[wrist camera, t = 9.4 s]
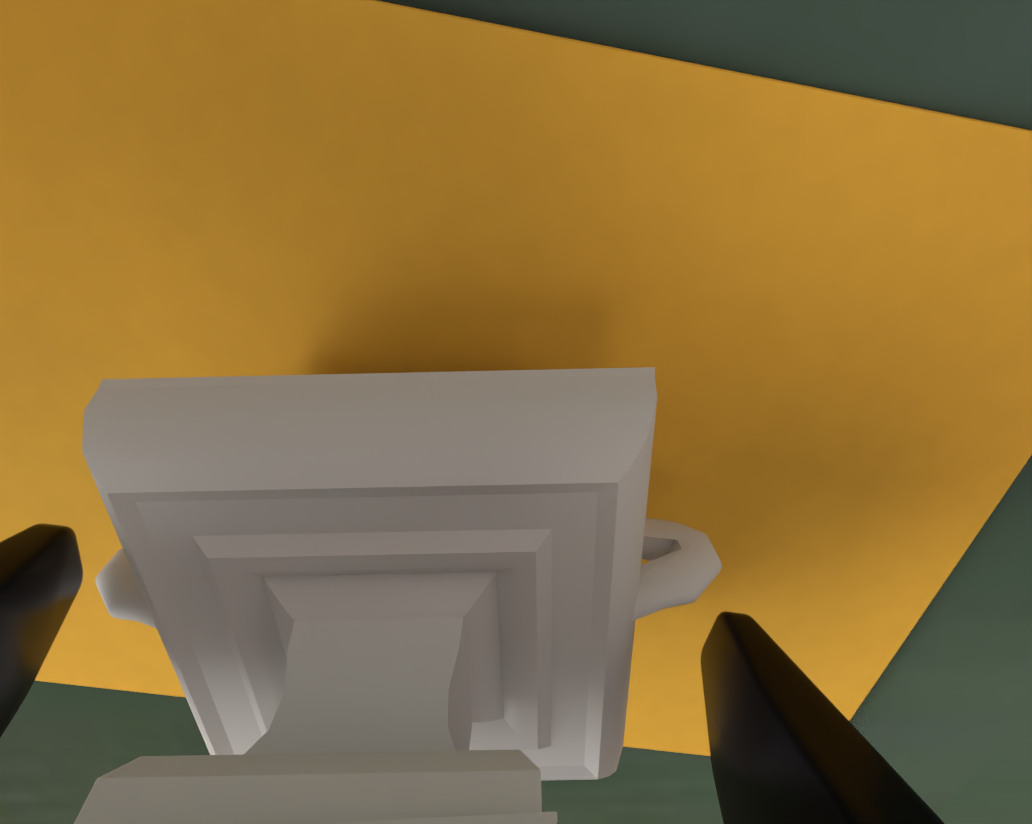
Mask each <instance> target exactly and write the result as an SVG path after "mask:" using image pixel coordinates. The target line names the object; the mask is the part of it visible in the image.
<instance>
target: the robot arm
mask: <svg viewBox="0 0 1032 824" xmlns="http://www.w3.org/2000/svg"><path fill="white" fill-rule="evenodd" d="M82 580H83V567H82V562H81V557H80V552H79V547H78V543H77V538H76V534H75V532H74V530H73V529H72V528H70V527H68V526H61V525H53V524H46V523H40V524H36V525H33V526H31V527H29V528H27V529H25V530H23V531H21V532H19V533H17V534H15V535H13V536H11V537H9V538H7V539H5V540H3V541H1V542H0V737H1V736H2V734H3V732H4V731H5V729H6V728H7V726H8V725H9V723H10V721H11V720H12V718H13V717H14V715H15V713H16V712H17V710H18V709H19V707H20V705H21V704H22V702H23V700H24V699H25V697H26V695H27V694H28V692H29V690H30V688H31V686H32V684H33V682H34V680H35V678H36V677H37V675H38V673H39V671H40V669H41V666H42V664H43V662H44V660H45V658H46V656H47V654H48V652H49V650H50V648H51V646H52V644H53V642H54V640H55V638H56V636H57V634H58V632H59V630H60V628H61V626H62V624H63V622H64V620H65V618H66V616H67V614H68V612H69V610H70V607H71V605H72V603H73V601H74V599H75V597H76V595H77V593H78V591H79V589H80V587H81V584H82ZM701 672H702V682H703V691H704V700H705V710H706V719H707V729H708V738H709V747H710V755H711V763H712V769H713V775H714V780H715V785H716V790H717V794H718V799H719V804H720V808H721V813H722V818H723V822H724V824H944V822H943V821H942V820H941V819H940V818H939V817H938V816H937V815H936V814H935V813H934V812H933V811H932V810H931V809H930V807H929V806H928V805H927V804H926V803H925V802H924V801H923V800H922V799H921V798H920V797H919V796H918V795H917V793H916V792H915V791H914V790H913V789H912V788H911V787H910V786H909V785H908V784H907V783H906V782H905V781H904V780H903V778H902V777H901V776H900V775H899V774H898V773H897V772H896V771H895V770H894V769H893V768H892V767H891V766H890V765H889V763H888V762H887V761H886V760H885V759H884V758H883V757H882V756H881V755H880V754H879V753H878V752H877V751H876V750H875V748H874V747H873V746H872V745H871V744H870V743H869V742H868V741H867V740H866V739H865V738H864V737H863V736H862V734H861V733H860V732H859V731H858V730H857V729H856V728H855V727H854V726H853V725H852V724H851V723H850V722H849V721H848V719H847V718H846V717H845V716H844V715H843V714H842V713H841V712H840V711H839V710H838V709H837V708H836V707H835V706H834V704H833V703H832V702H831V701H830V700H829V699H828V698H827V697H826V696H825V695H824V694H823V693H822V692H821V691H820V689H819V688H818V687H817V686H816V685H815V684H814V683H813V682H812V681H811V680H810V679H809V678H808V677H807V676H806V674H805V673H804V672H803V671H802V670H801V669H800V668H799V667H798V666H797V665H796V664H795V663H794V662H793V660H792V659H791V658H790V657H789V656H788V655H787V654H786V653H785V652H784V651H783V650H782V649H781V648H780V647H779V645H778V644H777V643H776V642H775V641H774V640H773V639H772V638H771V637H770V636H769V635H768V634H767V633H766V632H765V630H764V629H763V628H762V627H761V626H760V625H759V624H758V623H757V622H756V621H755V620H754V619H753V618H752V617H751V616H749V615H747V614H743V613H735V612H728V611H724V612H721V613H720V614H719V615H718V616H717V618H716V620H715V622H714V624H713V626H712V628H711V630H710V633H709V635H708V637H707V639H706V641H705V643H704V645H703V648H702V652H701Z"/></svg>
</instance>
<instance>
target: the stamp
mask: <svg viewBox="0 0 1032 824" xmlns="http://www.w3.org/2000/svg"><path fill="white" fill-rule="evenodd" d="M656 406H657V390H656V382H655V367H643V368H595V369H549V370H503V371H458V372H412V373H366V374H320V375H275V376H229V377H183V378H140V379H102V381H101V383H100V386H99V388H98V390H97V391H96V393H95V394H94V396H93V397H92V399H91V400H90V402H89V403H88V405H87V406H86V408H85V409H84V424H83V441H82V453H83V455H84V457H85V460H86V462H87V465H88V467H89V469H90V472H91V474H92V476H93V479H94V481H95V483H96V486H97V488H98V491H99V493H100V495H101V498H102V500H103V502H104V505H105V507H106V509H107V512H108V514H109V517H110V519H111V521H112V524H113V526H114V528H115V531H116V533H117V535H118V538H119V540H120V543H121V545H122V547H123V548H122V549H120V550H118V551H117V552H116V554H115V555H114V556H113V557H112V558H111V560H110V561H109V562H108V563H107V564H106V565H105V567H104V568H103V569H102V570H101V571H100V572H99V574H98V575H97V577H96V579H95V580H96V586H97V588H98V590H99V592H100V595H101V597H102V599H103V601H104V604H105V606H106V608H107V610H108V613H109V614H110V615H111V616H112V617H114V618H118V619H124V620H131V621H137V622H141V623H143V624H146V625H148V626H151V627H153V628H156V629H157V630H158V632H159V635H160V637H161V640H162V642H163V644H164V647H165V649H166V651H167V654H168V656H169V658H170V661H171V663H172V666H173V668H174V670H175V673H176V675H177V677H178V680H179V682H180V684H181V687H182V689H183V692H184V694H185V696H186V699H187V701H188V703H189V706H190V708H191V710H192V713H193V715H194V718H195V720H196V722H197V725H198V727H199V729H200V732H201V734H202V737H203V739H204V741H205V744H206V746H207V748H208V751H209V753H210V755H189V756H141V757H139V758H137V759H135V760H133V761H131V762H129V763H127V764H125V765H123V766H121V767H119V768H117V769H115V770H113V771H111V772H109V773H107V774H105V775H103V776H101V777H98V778H97V779H96V781H95V783H94V785H93V787H92V789H91V791H90V793H89V795H88V797H87V799H86V801H85V803H84V805H83V807H82V809H81V811H80V813H79V815H78V816H77V818H76V820H75V822H74V824H558V819H557V812H542V801H541V780H591V779H601V778H605V777H609V776H610V775H611V774H613V773H614V772H615V771H616V770H617V766H618V762H619V759H620V755H621V751H622V748H623V743H624V733H625V723H626V712H627V702H628V692H629V682H630V671H631V661H632V651H633V641H634V631H635V620H637V619H639V618H642V617H644V616H647V615H649V614H652V613H654V612H657V611H659V610H662V609H664V608H669V607H675V606H680V605H686V604H690V603H693V602H695V601H696V600H697V598H698V597H699V596H700V595H701V594H702V593H703V591H704V590H705V589H706V588H707V587H708V585H709V584H710V583H711V582H712V581H713V579H714V578H715V577H716V576H717V575H718V573H719V572H720V570H721V568H722V565H721V561H720V559H719V557H718V555H717V553H716V551H715V549H714V547H713V545H712V543H711V542H710V540H709V538H708V536H707V535H706V534H705V533H703V532H700V531H698V530H695V529H693V528H690V527H688V526H686V525H683V524H681V523H677V522H671V521H666V520H661V519H652V518H646V508H647V498H648V488H649V478H650V467H651V457H652V447H653V437H654V426H655V416H656ZM641 559H645V560H648V561H650V562H647V563H645V564H642V565H641Z"/></svg>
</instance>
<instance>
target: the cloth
mask: <svg viewBox="0 0 1032 824" xmlns="http://www.w3.org/2000/svg"><path fill="white" fill-rule="evenodd" d="M643 367H655V382H656V390H657V406H656V416H655V426H654V437H653V447H652V457H651V467H650V478H649V488H648V498H647V508H646V518H652V519H661V520H666V521H671V522H677V523H681V524H683V525H686V526H688V527H690V528H693V529H695V530H698V531H700V532H703V533H705V534H706V535H707V536H708V538H709V540H710V542H711V543H712V545H713V547H714V549H715V551H716V553H717V555H718V557H719V559H720V561H721V565H722V568H721V570H720V572H719V573H718V575H717V576H716V577H715V578H714V579H713V581H712V582H711V583H710V584H709V585H708V587H707V588H706V589H705V590H704V591H703V593H702V594H701V595H700V596H699V597H698V598H697V600H696V601H695V602H693V603H690V604H686V605H680V606H675V607H669V608H664V609H662V610H659V611H657V612H654V613H652V614H649V615H647V616H644V617H642V618H639V619H637V620H635V631H634V641H633V651H632V661H631V671H630V682H629V692H628V702H627V712H626V723H625V733H624V743H623V746H625V747H634V748H643V749H652V750H661V751H670V752H678V753H687V754H696V755H705V756H711V755H710V747H709V738H708V729H707V719H706V710H705V700H704V691H703V682H702V672H701V652H702V648H703V645H704V643H705V641H706V639H707V637H708V635H709V633H710V630H711V628H712V626H713V624H714V622H715V620H716V618H717V616H718V615H719V614H720V613H721V612H724V611H728V612H735V613H743V614H747V615H749V616H751V617H752V618H753V619H754V620H755V621H756V622H757V623H758V624H759V625H760V626H761V627H762V628H763V629H764V630H765V632H766V633H767V634H768V635H769V636H770V637H771V638H772V639H773V640H774V641H775V642H776V643H777V644H778V645H779V647H780V648H781V649H782V650H783V651H784V652H785V653H786V654H787V655H788V656H789V657H790V658H791V659H792V660H793V662H794V663H795V664H796V665H797V666H798V667H799V668H800V669H801V670H802V671H803V672H804V673H805V674H806V676H807V677H808V678H809V679H810V680H811V681H812V682H813V683H814V684H815V685H816V686H817V687H818V688H819V689H820V691H821V692H822V693H823V694H824V695H825V696H826V697H827V698H828V699H829V700H830V701H831V702H832V703H833V704H834V706H835V707H836V708H837V709H838V710H839V711H840V712H841V713H842V714H843V715H844V716H845V717H846V718H847V719H848V721H850V719H851V718H852V716H853V715H854V714H855V712H856V711H857V709H858V708H859V706H860V705H861V703H862V702H863V700H864V699H865V697H866V696H867V695H868V693H869V692H870V690H871V689H872V687H873V686H874V684H875V683H876V681H877V680H878V678H879V677H880V676H881V674H882V673H883V671H884V670H885V668H886V667H887V665H888V664H889V662H890V661H891V659H892V658H893V657H894V655H895V654H896V652H897V651H898V649H899V648H900V646H901V645H902V643H903V642H904V640H905V639H906V638H907V636H908V635H909V633H910V632H911V630H912V629H913V627H914V626H915V624H916V623H917V622H918V620H919V619H920V617H921V616H922V614H923V613H924V611H925V610H926V608H927V607H928V605H929V604H930V603H931V601H932V600H933V598H934V597H935V595H936V594H937V592H938V591H939V589H940V588H941V586H942V585H943V584H944V582H945V581H946V579H947V578H948V576H949V575H950V573H951V572H952V570H953V569H954V567H955V566H956V565H957V563H958V562H959V560H960V559H961V557H962V556H963V554H964V553H965V551H966V550H967V548H968V547H969V546H970V544H971V543H972V541H973V540H974V538H975V537H976V535H977V534H978V532H979V531H980V529H981V528H982V527H983V525H984V524H985V522H986V521H987V519H988V518H989V516H990V515H991V513H992V512H993V511H994V509H995V508H996V506H997V505H998V503H999V502H1000V500H1001V499H1002V497H1003V496H1004V494H1005V493H1006V492H1007V490H1008V489H1009V487H1010V486H1011V484H1012V483H1013V481H1014V480H1015V478H1016V477H1017V475H1018V474H1019V473H1020V471H1021V470H1022V468H1023V467H1024V465H1025V464H1026V462H1027V461H1028V459H1029V458H1030V456H1031V455H1032V130H1028V129H1022V128H1017V127H1012V126H1007V125H1002V124H997V123H992V122H987V121H982V120H977V119H972V118H967V117H962V116H957V115H952V114H947V113H942V112H937V111H932V110H927V109H922V108H917V107H912V106H907V105H902V104H897V103H892V102H887V101H882V100H877V99H872V98H867V97H862V96H856V95H851V94H846V93H841V92H836V91H831V90H826V89H821V88H816V87H811V86H806V85H801V84H796V83H791V82H786V81H781V80H776V79H771V78H766V77H761V76H756V75H751V74H746V73H741V72H736V71H731V70H726V69H721V68H716V67H711V66H706V65H700V64H695V63H690V62H685V61H680V60H675V59H670V58H665V57H660V56H655V55H650V54H645V53H640V52H635V51H630V50H625V49H620V48H615V47H610V46H605V45H600V44H595V43H590V42H585V41H580V40H575V39H570V38H565V37H560V36H555V35H550V34H545V33H539V32H534V31H529V30H524V29H519V28H514V27H509V26H504V25H499V24H494V23H489V22H484V21H479V20H474V19H469V18H464V17H459V16H454V15H449V14H444V13H439V12H434V11H429V10H424V9H419V8H414V7H409V6H404V5H399V4H394V3H389V2H384V1H378V0H0V542H1V541H3V540H5V539H7V538H9V537H11V536H13V535H15V534H17V533H19V532H21V531H23V530H25V529H27V528H29V527H31V526H33V525H36V524H40V523H46V524H53V525H61V526H68V527H70V528H72V529H73V530H74V532H75V534H76V538H77V543H78V547H79V552H80V557H81V562H82V567H83V580H82V584H81V587H80V589H79V591H78V593H77V595H76V597H75V599H74V601H73V603H72V605H71V607H70V610H69V612H68V614H67V616H66V618H65V620H64V622H63V624H62V626H61V628H60V630H59V632H58V634H57V636H56V638H55V640H54V642H53V644H52V646H51V648H50V650H49V652H48V654H47V656H46V658H45V660H44V662H43V664H42V666H41V669H40V671H39V673H38V675H37V677H36V678H35V681H44V682H53V683H62V684H71V685H80V686H89V687H98V688H107V689H116V690H125V691H134V692H143V693H151V694H160V695H169V696H178V697H186V696H185V694H184V692H183V689H182V687H181V684H180V682H179V680H178V677H177V675H176V673H175V670H174V668H173V666H172V663H171V661H170V658H169V656H168V654H167V651H166V649H165V647H164V644H163V642H162V640H161V637H160V635H159V632H158V630H157V629H156V628H153V627H151V626H148V625H146V624H143V623H141V622H137V621H131V620H124V619H118V618H114V617H112V616H111V615H110V614H109V613H108V610H107V608H106V606H105V604H104V601H103V599H102V597H101V595H100V592H99V590H98V588H97V586H96V580H95V579H96V577H97V575H98V574H99V572H100V571H101V570H102V569H103V568H104V567H105V565H106V564H107V563H108V562H109V561H110V560H111V558H112V557H113V556H114V555H115V554H116V552H117V551H118V550H120V549H122V548H123V547H122V545H121V543H120V540H119V538H118V535H117V533H116V531H115V528H114V526H113V524H112V521H111V519H110V517H109V514H108V512H107V509H106V507H105V505H104V502H103V500H102V498H101V495H100V493H99V491H98V488H97V486H96V483H95V481H94V479H93V476H92V474H91V472H90V469H89V467H88V465H87V462H86V460H85V457H84V455H83V453H82V441H83V424H84V409H85V408H86V406H87V405H88V403H89V402H90V400H91V399H92V397H93V396H94V394H95V393H96V391H97V390H98V388H99V386H100V383H101V381H102V379H140V378H183V377H229V376H275V375H320V374H366V373H412V372H458V371H503V370H549V369H595V368H643ZM647 562H650V561H648V560H645V559H641V565H642V564H645V563H647Z"/></svg>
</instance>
